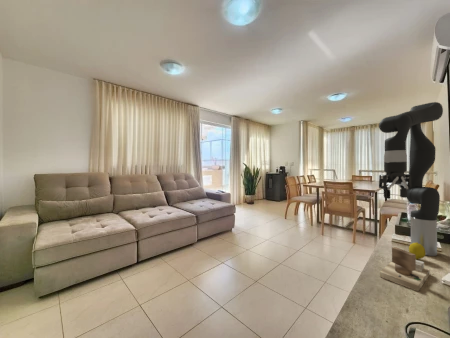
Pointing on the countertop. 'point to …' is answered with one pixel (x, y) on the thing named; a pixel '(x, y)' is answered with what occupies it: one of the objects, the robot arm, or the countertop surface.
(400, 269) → the peg
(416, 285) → the tuner board
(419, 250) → the lemon
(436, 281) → the countertop surface
